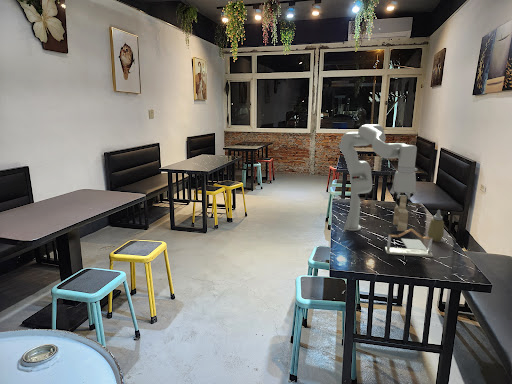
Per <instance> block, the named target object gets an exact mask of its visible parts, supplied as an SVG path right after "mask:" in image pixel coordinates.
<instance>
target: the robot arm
mask: <svg viewBox="0 0 512 384" xmlns="http://www.w3.org/2000/svg"><path fill="white" fill-rule="evenodd" d="M386 137H387V136H386V134H385V130H384V127H383V126H382V125H380V124H378V123H377V124H369V123H366V124H363V125H361V126H360V127H359V128H358V130H357V131H349V132H345V133H344V134H343V135H342V136H341V139H340V147H341V149H342V151H343V153H344V154H345V157H346V160H347V163H348V167H349V170H350V173H351V182H352V202H351V211H350V214H349V217H348V221H347V224H346V227H345V231H350V232H351V231H353V232H354V231H359V230H361V229H362V225H361V224H359V223H360V222H359V221H360V213H361V212H360V211H361V198H360V197H359V195H360V194H369V193H371V191H372V189H373V178H372V177H373V176H372V169H371V165H370V163H369V162H368V161H366V160H359V155H358V151H357V149H355V147H365V146H370V145H371V147H372V151H373V152H374V153H375V154H377V156H378V157H381V158H383V159H398V164H397V171H395V173H394V177H393V182H392V187H391V188H390V190H389V193H390V194H392V195H394V196H395V198H396V199H395V205H396V204H397V206H400V195H401V193H403V194H405V196H406V197H407V201H406V208H407V207H408V206H409V205H410V204H409V203H410V199H411V198H412V197H414V196H416V195H418V191H417V189H416V187H417V186H416V185H417V179H416V178H417V176H416V172H418V171H419V170H418V168H417V167H416V159H417V150H418V148H417V146H416V145H415V144H414V145H413V144H406V143H403V142H394V143H391V142H389V143H387V142H386ZM354 177H359V178H354Z"/></svg>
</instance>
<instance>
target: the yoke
mask: <svg viewBox="0 0 512 384" xmlns="http://www.w3.org/2000/svg"><path fill="white" fill-rule="evenodd" d="M406 201H407V197H406V194H405V195H401V194H400V206H397V204H396V203H395V207H394V208H393V209H394V211H393V220H392V224H393V225H396V226H397V227H396V228H397V231H398V232H405V231H407V230H408V221H409V211H408V210H407V207H406Z"/></svg>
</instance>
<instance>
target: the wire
mask: <svg viewBox="0 0 512 384" xmlns="http://www.w3.org/2000/svg"><path fill="white" fill-rule="evenodd" d="M410 232H411V233H413V234H414V235H416V236H417V237H418V238H420V239H421V240H428V246H427V250H418V249H407V248H402V247H391V244H392V243H391V240H392V238H400V237H402V236H404V235H406V234H407V233H410ZM432 245H433V241H432V238H431V237H428V236H422V235H421V234H420V233H419V232H417V231H416V230H414V229H413V228H409V229H407V231H402V232H401V233H399V234H388V236H387V244H386V246H385V247H384V250H385V253H386V254H387V255H399V256H412V257H413V256H414V257H424V258H425V257H426V258H433V257H434V255H433V253H432V252H431V251H432Z"/></svg>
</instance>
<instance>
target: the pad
mask: <svg viewBox="0 0 512 384" xmlns="http://www.w3.org/2000/svg"><path fill="white" fill-rule="evenodd" d="M400 240H401V241H402V244H403V245H404V246H405V247H406V248H405V249H418V250H428V247H426V246H425V245H424V243H423V242H422V241H421V240H420V239H416V238H415V239H413V238H412V239H411V238H400Z"/></svg>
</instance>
